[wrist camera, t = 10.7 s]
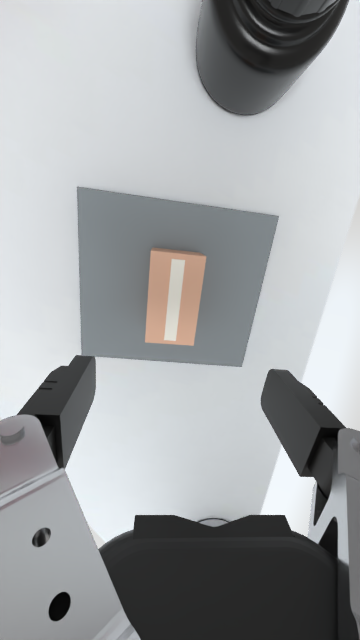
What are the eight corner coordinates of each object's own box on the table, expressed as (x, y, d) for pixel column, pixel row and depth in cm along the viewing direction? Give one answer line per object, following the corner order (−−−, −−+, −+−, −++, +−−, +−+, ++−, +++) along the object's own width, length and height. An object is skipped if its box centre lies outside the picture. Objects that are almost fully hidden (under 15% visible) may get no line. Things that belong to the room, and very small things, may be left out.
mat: (240, 365, 31) (241, 366, 30) (82, 353, 29) (81, 355, 28) (277, 216, 24) (278, 216, 24) (78, 187, 22) (77, 186, 22)
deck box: (200, 252, 25) (206, 256, 21) (189, 330, 28) (193, 346, 24) (152, 247, 24) (150, 250, 20) (147, 327, 28) (144, 343, 24)
